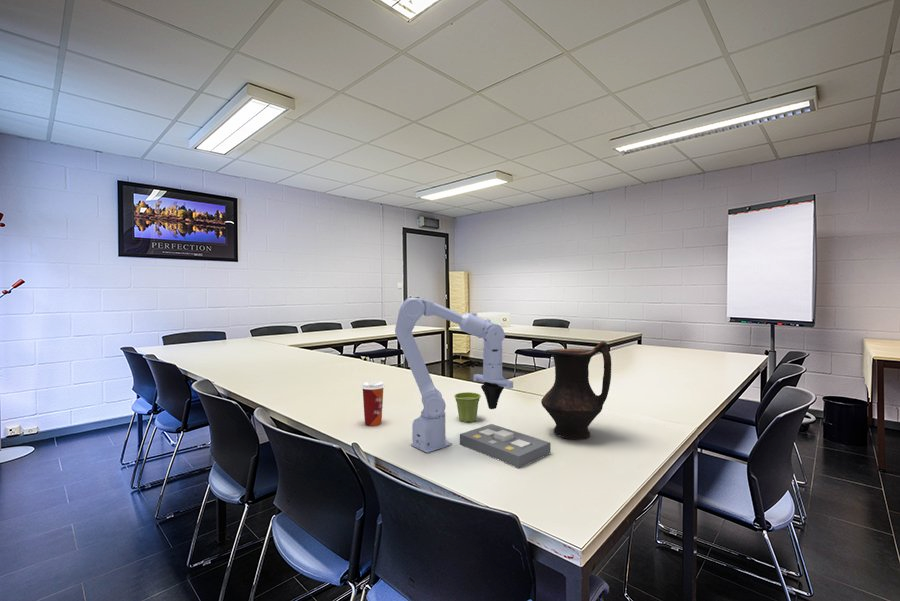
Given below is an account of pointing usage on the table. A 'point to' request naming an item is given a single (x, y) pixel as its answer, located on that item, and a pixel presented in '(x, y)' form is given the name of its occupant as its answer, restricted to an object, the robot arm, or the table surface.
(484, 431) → the end button
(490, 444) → the button board
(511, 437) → the middle button
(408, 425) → the table surface
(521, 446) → the end button
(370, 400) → the paper cup
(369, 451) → the table surface
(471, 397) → the plant pot
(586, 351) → the jug
